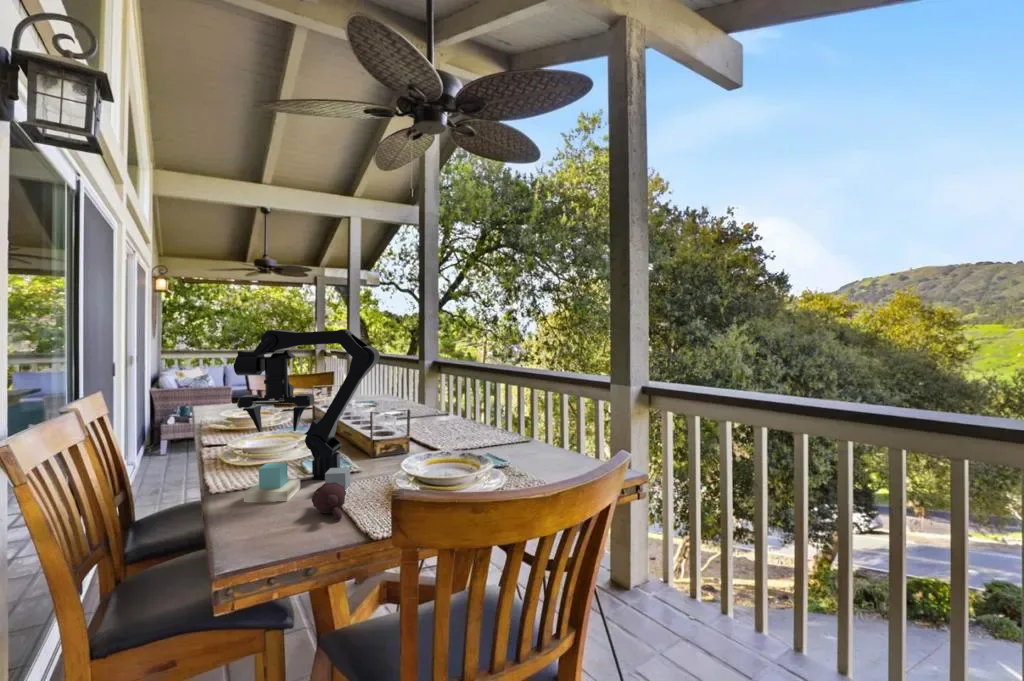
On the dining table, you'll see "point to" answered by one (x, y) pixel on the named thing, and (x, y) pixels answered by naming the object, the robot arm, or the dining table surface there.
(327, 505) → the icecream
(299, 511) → the dining table surface
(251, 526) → the dining table surface
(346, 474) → the light grey cube
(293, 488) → the birch block
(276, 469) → the teal cube
